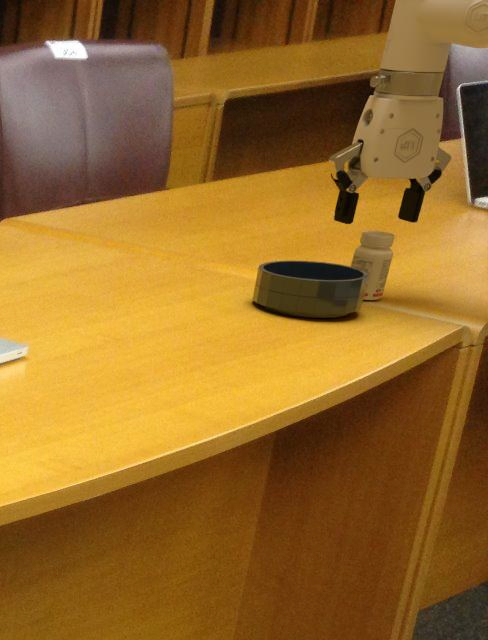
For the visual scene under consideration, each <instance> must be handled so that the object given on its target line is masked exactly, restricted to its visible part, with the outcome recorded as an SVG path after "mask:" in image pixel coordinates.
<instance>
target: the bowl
mask: <svg viewBox="0 0 488 640" xmlns="http://www.w3.org/2000/svg"><path fill="white" fill-rule="evenodd" d="M367 280H368V273H366V272H365V271H363V270H360V269H357V268H354V267H351V265H346V264H341V263H340V264H339V263H331V262H324V261H314V260H313V261H312V260H274V261H268V262H264V263H261V264H259V266H258V268H257V273H256V278H255V284H254V289H253V295H252V300H253V302H255V303H256V304H258V305H260V306H262V308H264V309H265V310H267V311H270V312H272V313H276V314H280V315H284V316H289V317H297V318H307V319H308V318H309V319H334V318H341V317H346V316H348V315H350V313H355V312H357V311H360V310H361V309H362V307H363V302H364V300H363V298H364V293H365V289H366V284H367Z"/></svg>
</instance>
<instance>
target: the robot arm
mask: <svg viewBox="0 0 488 640" xmlns="http://www.w3.org/2000/svg"><path fill="white" fill-rule="evenodd" d="M452 45H458V46H461V47H462V46H463V47H468V48H473V49H488V0H395V1H394V6H393V10H392V15H391V19H390V23H389V28H388V31H387V36H386V40H385V45H384V49H383V53H382V58H381V62H380V66H379V70H378V74H377V75H373V76H372V77H371V78H370V80H369V86H370V87H371V88H374V92H373V95H369V97H368V98H367V101H366V103H365V105H364V108H363V109H362V110H363V111H362V113H361V115H360V118H359V120H358V123H357V126H356V129H355V133H354V136H353V140H352V143H351V145H348V146H346V147H344V148H343V149H341V150H339V151H337V152H335V153H334V154H332V155H330V156H329V158H328V164H329V169H330V172H331V173H330V177H331V179H332V181H333V182H334V184H335V188H336V190H338V195H337V199H336V204H335V208H334V216H333V220H334V221H335V222H338V223H341V224H345V225H351V224H353V222H354V220H355V215H356V210H357V207H358V202H359V198H360V193H359V192H356V191H357V190H358V189H359V188H360V187H361V186H362V185H363V184H364V183H365V182H366V181H367V180H368V179H369V178H370V179H373V180H406V181H407V183H408V185H409V187H406V188H405V189H404V191H403V195H402V199H401V202H400V207H399V211H398V214H397V218H398V219H399V220H402V221H405V222H409V223H417V222H418V221H419V217H420V213H421V211H422V206H423V203H424V199H425V194H426V192H429V191H431V189H432V188H433V187H432V186H433V184H435V183H436V182H437V181H438V180H439V179H440V178H441V177H442V175H443V172H444V171H445V169H446V168H447V167H448V165H449V163H450V162H451V161H452V156H451V154H449V153H448V152H447V151H445V150H443V149H442V148H441V147H439V146H440V143H441V135H442V129H443V118H444V98H443V97H440V96H439V94H440V90H441V86H442V83H443V78H444V74H445V70H446V67H447V62H448V59H449V55H450V51H451V46H452ZM346 163H347V171H345V164H346Z"/></svg>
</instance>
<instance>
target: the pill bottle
mask: <svg viewBox="0 0 488 640" xmlns="http://www.w3.org/2000/svg"><path fill="white" fill-rule="evenodd" d="M394 240H395V234H393V233H391V232H386V231H382V230H381V231H380V230H364V231H362V232H361V236H360V239H359V241H360V242H359V243H360V245H358V246H356V247H355V249H354V252H353V256H352V260H351V264H350V267H354V268H357V269H360V270H363V271H365V272H366V273H368V280H367V284H366V289H365V293H364V298H363V301H364V300H365V301H378V300H381V298H382V297H383V295H384V291H385V287H386V283H387V280H388V275H389V272H390V268H391V264H392V260H393V256H394V251H393V250H392V249H391V248H392V247H393V245H394Z"/></svg>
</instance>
